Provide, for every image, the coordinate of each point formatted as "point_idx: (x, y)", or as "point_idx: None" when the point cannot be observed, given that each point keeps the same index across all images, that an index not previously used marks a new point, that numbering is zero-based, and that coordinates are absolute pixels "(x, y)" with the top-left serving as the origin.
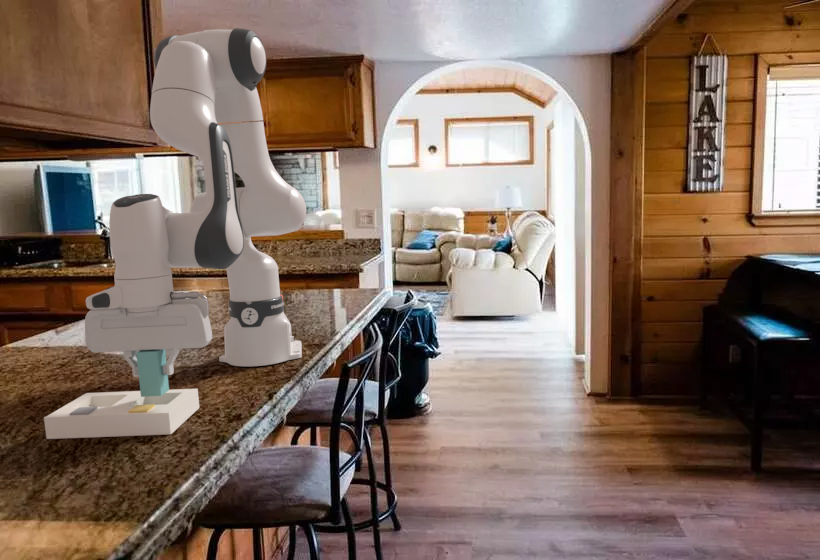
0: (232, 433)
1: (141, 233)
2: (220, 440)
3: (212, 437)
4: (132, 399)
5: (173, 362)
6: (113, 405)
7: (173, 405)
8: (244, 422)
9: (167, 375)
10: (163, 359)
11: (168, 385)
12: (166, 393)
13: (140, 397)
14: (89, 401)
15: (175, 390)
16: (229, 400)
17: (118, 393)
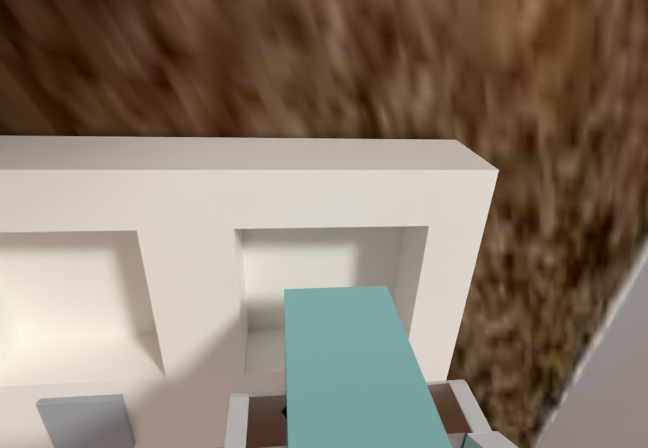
0: (573, 360)
1: None
2: (543, 395)
3: (523, 380)
4: (214, 305)
5: (497, 439)
6: (170, 367)
7: (431, 376)
8: (613, 290)
9: (408, 343)
10: None
11: (392, 303)
12: (347, 225)
13: (237, 277)
14: None
15: (384, 191)
16: (581, 20)
17: (54, 204)
